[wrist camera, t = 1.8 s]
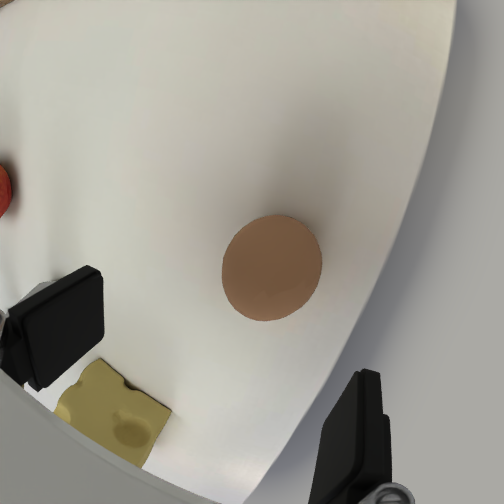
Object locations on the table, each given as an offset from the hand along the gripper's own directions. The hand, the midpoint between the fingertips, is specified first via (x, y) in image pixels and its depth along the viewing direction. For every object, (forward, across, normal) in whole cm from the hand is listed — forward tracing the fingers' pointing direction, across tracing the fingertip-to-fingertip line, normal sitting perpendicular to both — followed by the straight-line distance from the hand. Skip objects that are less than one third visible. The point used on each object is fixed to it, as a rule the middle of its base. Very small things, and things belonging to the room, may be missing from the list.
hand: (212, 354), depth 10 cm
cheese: (+12, +12, +25) cm, 30 cm away
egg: (+12, 0, 0) cm, 12 cm away
